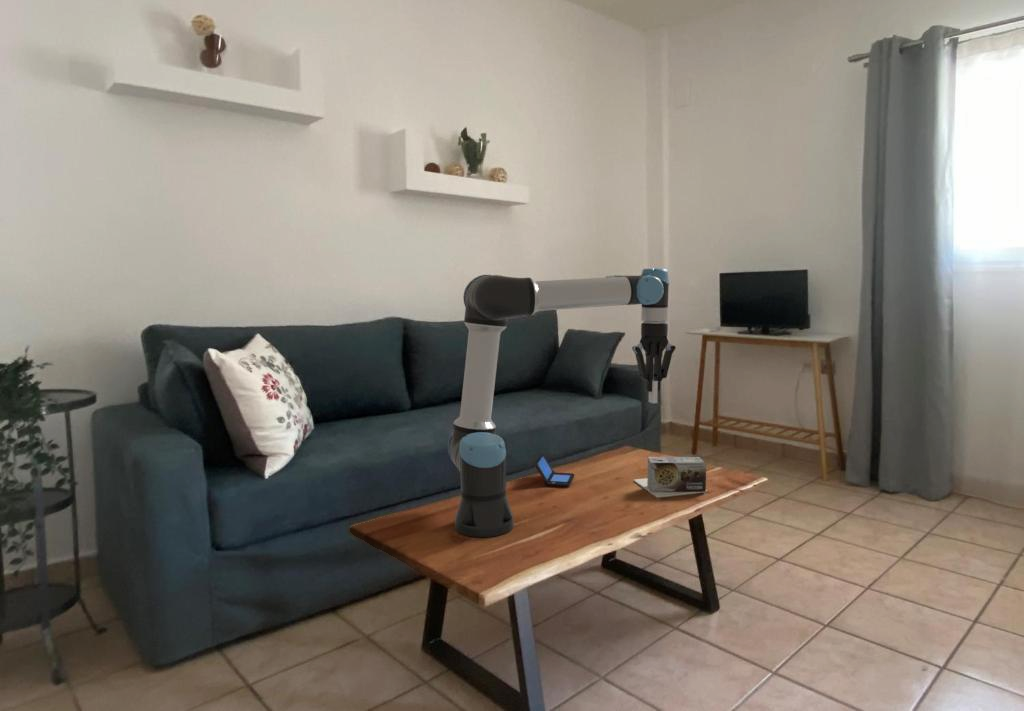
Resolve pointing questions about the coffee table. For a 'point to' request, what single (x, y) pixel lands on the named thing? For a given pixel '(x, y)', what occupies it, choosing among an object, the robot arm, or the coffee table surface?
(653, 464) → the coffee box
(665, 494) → the felt mat
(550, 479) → the handheld game console
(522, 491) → the coffee table surface
